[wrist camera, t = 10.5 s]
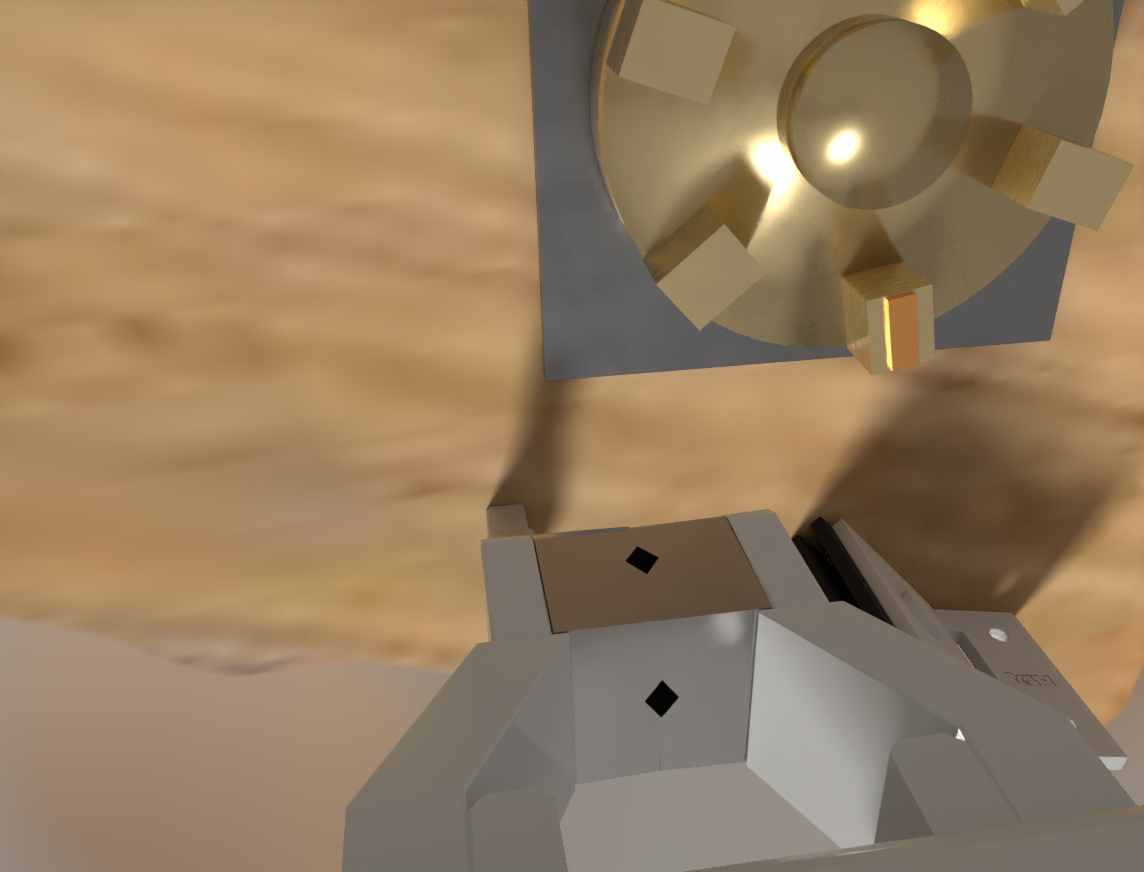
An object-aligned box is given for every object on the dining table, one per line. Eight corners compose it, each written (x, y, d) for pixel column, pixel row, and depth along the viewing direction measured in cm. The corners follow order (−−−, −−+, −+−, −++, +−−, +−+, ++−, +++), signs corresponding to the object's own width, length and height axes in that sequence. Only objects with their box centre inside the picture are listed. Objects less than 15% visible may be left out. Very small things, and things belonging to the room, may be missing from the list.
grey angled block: (528, 578, 48) (547, 697, 41) (490, 581, 48) (503, 702, 41) (522, 446, 45) (542, 552, 38) (482, 449, 44) (494, 556, 37)
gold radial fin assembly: (540, -122, 33) (561, -121, 28) (1074, -253, 34) (1187, -275, 29) (637, 364, 42) (666, 429, 37) (1059, 258, 42) (1144, 309, 38)
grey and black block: (1017, 613, 53) (1133, 760, 45) (946, 683, 55) (1045, 837, 46) (820, 503, 48) (909, 644, 40) (750, 584, 50) (820, 736, 41)
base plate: (544, 372, 43) (546, 382, 42) (516, -259, 32) (518, -262, 32) (1040, 333, 45) (1051, 341, 44) (1167, -270, 35) (1185, -274, 34)
